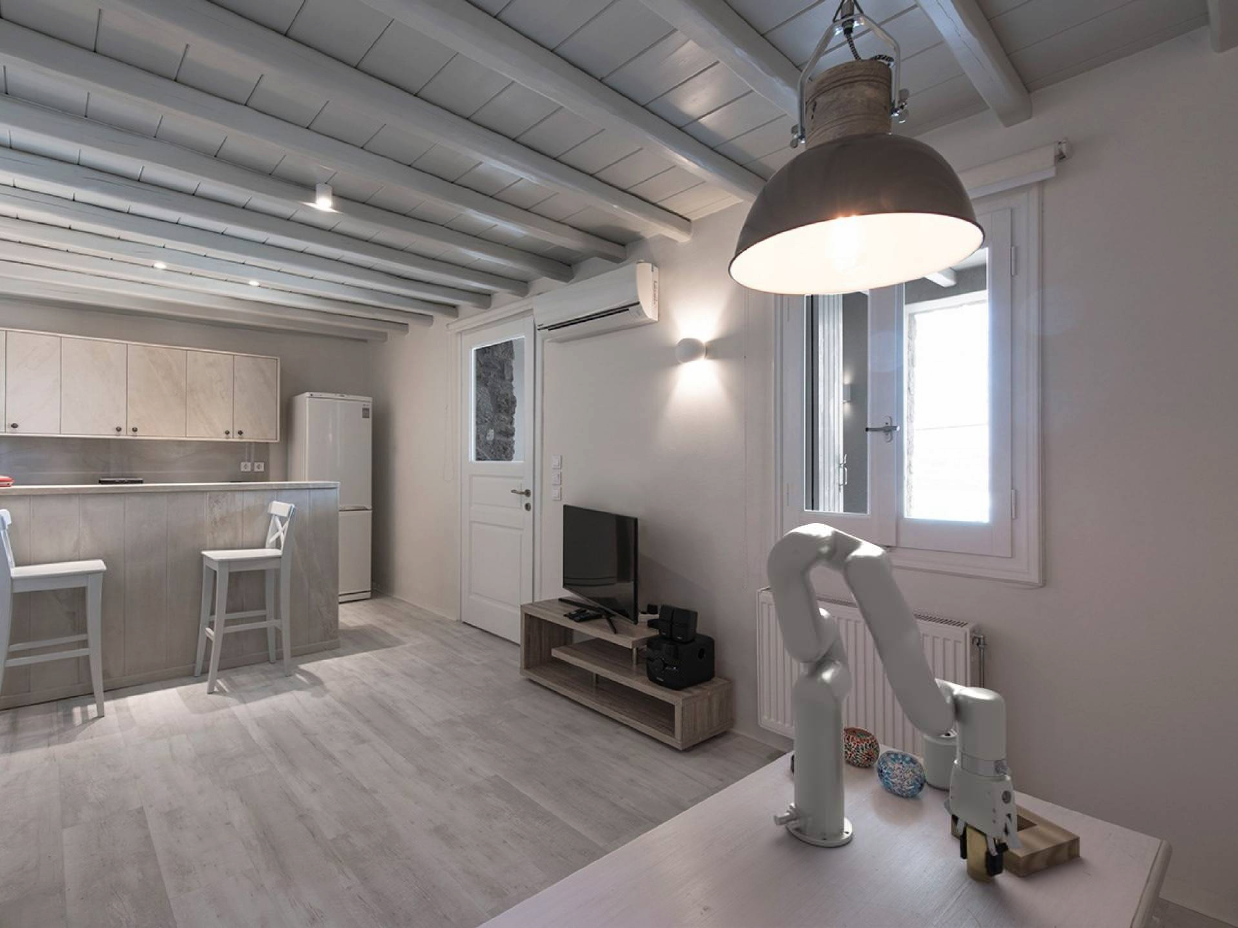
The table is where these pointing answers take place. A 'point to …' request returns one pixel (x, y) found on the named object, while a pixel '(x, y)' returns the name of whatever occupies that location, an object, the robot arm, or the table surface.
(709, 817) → the table surface
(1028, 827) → the block
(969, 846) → the bushing
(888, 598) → the robot arm
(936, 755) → the can
